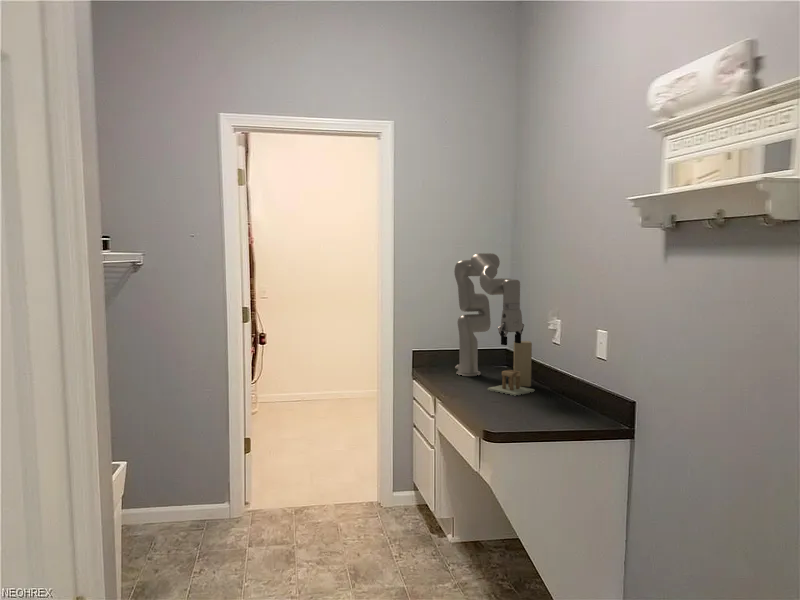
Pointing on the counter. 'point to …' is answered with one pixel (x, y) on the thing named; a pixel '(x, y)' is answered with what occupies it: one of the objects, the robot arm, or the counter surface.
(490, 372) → the counter surface
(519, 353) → the beige block
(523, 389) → the sage mat
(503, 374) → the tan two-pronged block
